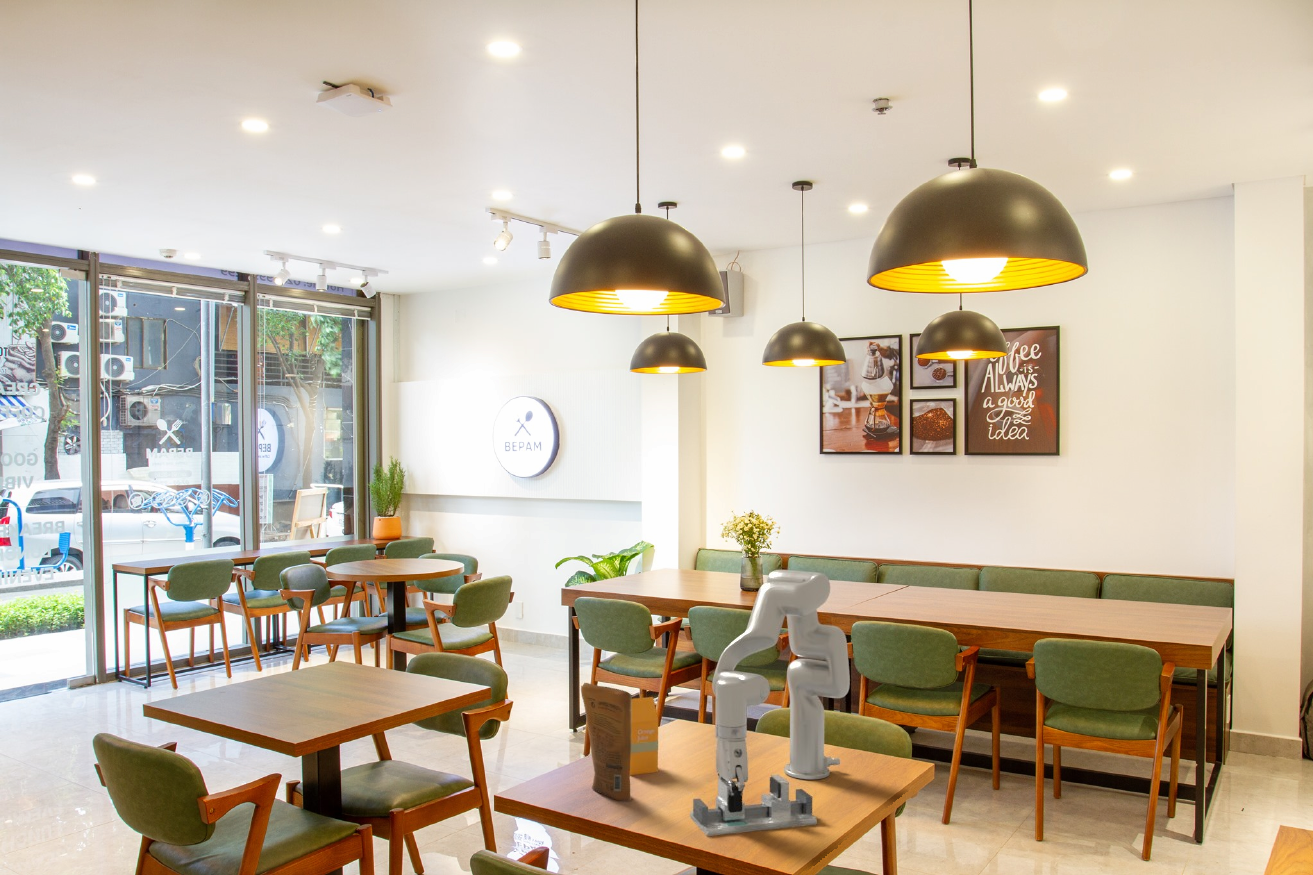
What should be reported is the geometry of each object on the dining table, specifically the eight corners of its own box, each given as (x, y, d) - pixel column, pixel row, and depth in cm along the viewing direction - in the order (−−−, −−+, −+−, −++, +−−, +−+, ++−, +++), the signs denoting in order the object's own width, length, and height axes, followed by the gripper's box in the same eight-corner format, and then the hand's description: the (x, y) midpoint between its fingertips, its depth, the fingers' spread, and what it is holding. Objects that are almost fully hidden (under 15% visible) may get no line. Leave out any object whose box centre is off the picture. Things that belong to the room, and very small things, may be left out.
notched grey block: (735, 809, 229) (735, 776, 229) (744, 818, 223) (744, 784, 223) (715, 811, 227) (716, 778, 227) (724, 820, 221) (725, 786, 222)
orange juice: (618, 767, 267) (619, 696, 268) (647, 763, 270) (648, 693, 271) (628, 775, 260) (630, 702, 260) (658, 771, 263) (659, 699, 264)
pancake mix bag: (620, 806, 235) (621, 693, 236) (577, 786, 250) (578, 680, 251) (641, 800, 240) (642, 690, 241) (597, 781, 254) (599, 677, 255)
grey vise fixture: (796, 806, 236) (796, 768, 237) (817, 824, 225) (818, 784, 225) (688, 817, 228) (689, 778, 229) (705, 836, 217) (706, 794, 217)
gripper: (759, 739, 219) (758, 818, 218) (732, 720, 235) (731, 793, 234) (729, 742, 216) (728, 821, 216) (704, 722, 233) (703, 796, 232)
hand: (730, 805), depth 225 cm, fingers closed on notched grey block, 6 cm apart
